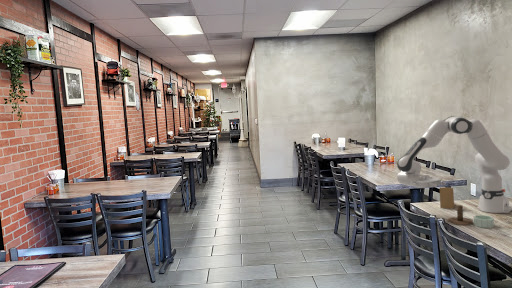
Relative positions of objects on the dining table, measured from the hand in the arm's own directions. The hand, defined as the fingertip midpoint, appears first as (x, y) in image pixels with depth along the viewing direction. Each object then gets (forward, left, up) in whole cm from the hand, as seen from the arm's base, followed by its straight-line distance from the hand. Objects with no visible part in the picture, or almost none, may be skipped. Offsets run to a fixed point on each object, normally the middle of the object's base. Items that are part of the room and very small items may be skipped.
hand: (441, 184), depth 225 cm
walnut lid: (0, +11, -22) cm, 25 cm away
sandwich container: (-30, -14, -22) cm, 40 cm away
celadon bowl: (-3, +23, -22) cm, 32 cm away
